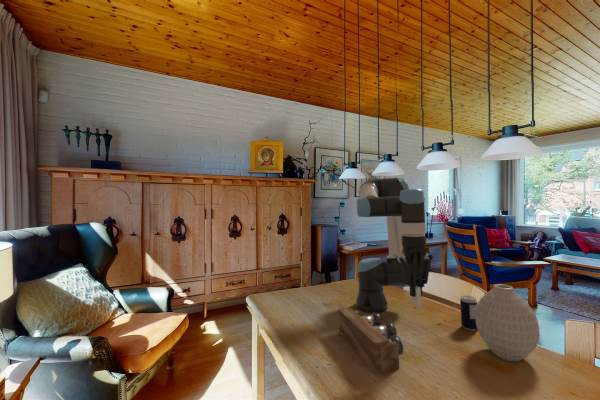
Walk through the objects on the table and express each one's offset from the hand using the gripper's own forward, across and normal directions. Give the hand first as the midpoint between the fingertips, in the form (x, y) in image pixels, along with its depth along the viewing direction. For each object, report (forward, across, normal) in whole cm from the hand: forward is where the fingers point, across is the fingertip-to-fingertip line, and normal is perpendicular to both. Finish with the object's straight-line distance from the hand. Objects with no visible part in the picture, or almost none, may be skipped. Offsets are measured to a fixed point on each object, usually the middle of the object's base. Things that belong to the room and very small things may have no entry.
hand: (416, 305), depth 86 cm
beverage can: (+16, -31, -9) cm, 36 cm away
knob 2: (+14, +8, -9) cm, 19 cm away
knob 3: (+14, +12, 0) cm, 19 cm away
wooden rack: (+16, +14, -9) cm, 23 cm away
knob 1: (+14, +8, -18) cm, 24 cm away
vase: (+16, -26, +9) cm, 32 cm away
